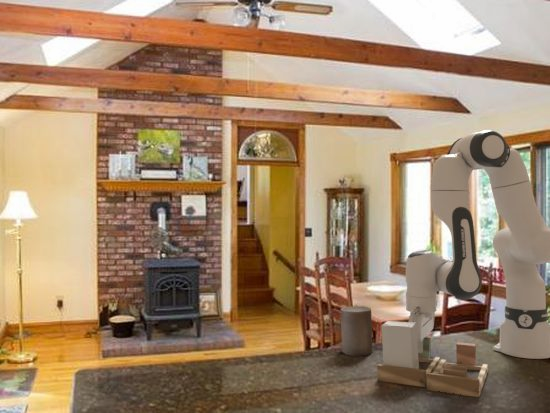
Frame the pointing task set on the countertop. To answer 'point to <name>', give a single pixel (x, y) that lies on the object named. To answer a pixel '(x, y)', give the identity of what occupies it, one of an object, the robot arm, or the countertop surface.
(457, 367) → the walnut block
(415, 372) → the frame
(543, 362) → the countertop surface
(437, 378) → the frame
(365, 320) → the pillar candle
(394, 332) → the skincare box
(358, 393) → the countertop surface
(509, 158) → the robot arm
